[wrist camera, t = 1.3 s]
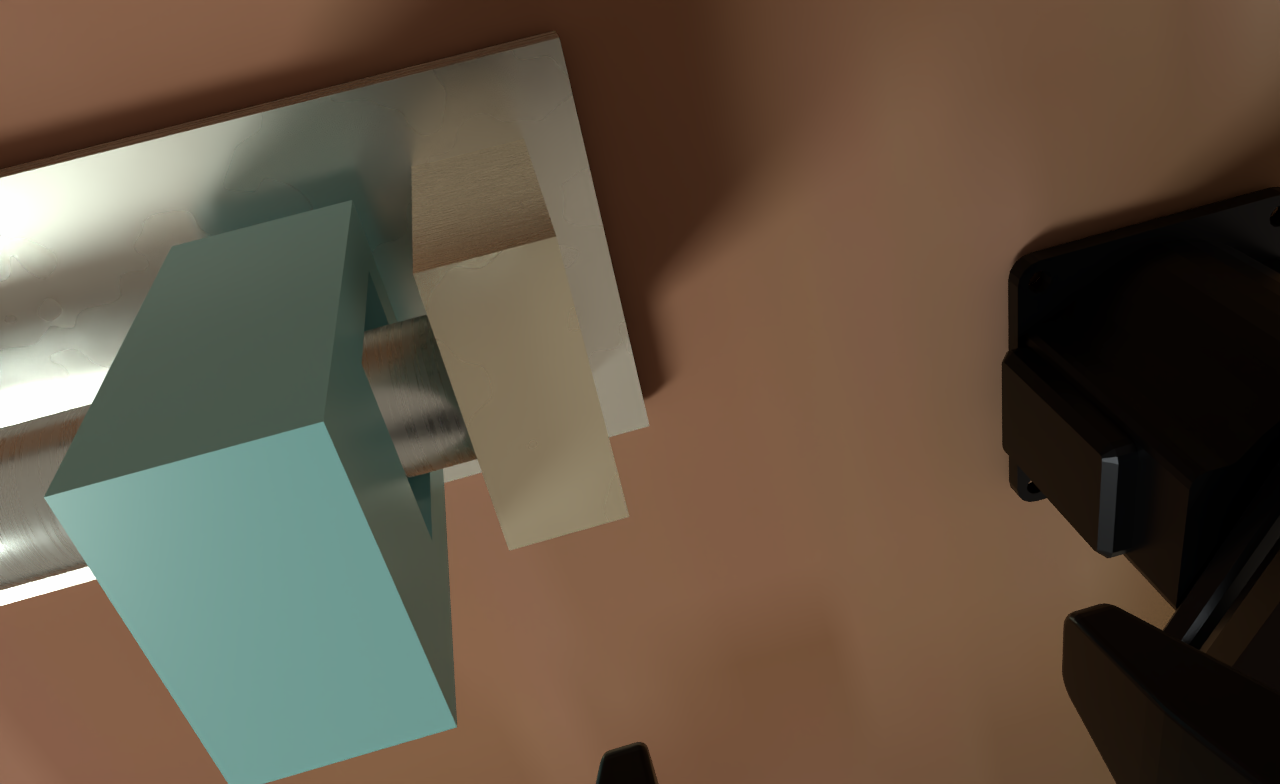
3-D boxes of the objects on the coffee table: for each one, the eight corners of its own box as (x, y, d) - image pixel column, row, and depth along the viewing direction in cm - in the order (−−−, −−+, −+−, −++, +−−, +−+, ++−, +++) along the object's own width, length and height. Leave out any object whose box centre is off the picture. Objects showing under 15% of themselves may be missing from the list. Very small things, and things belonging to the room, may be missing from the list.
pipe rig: (554, 29, 18) (604, 111, 13) (643, 411, 22) (704, 570, 17) (-726, 351, 16) (-1145, 560, 12) (-368, 690, 21) (-580, 938, 16)
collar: (352, 200, 17) (323, 421, 11) (441, 442, 20) (456, 727, 14) (171, 246, 17) (43, 497, 11) (286, 485, 19) (234, 792, 14)
